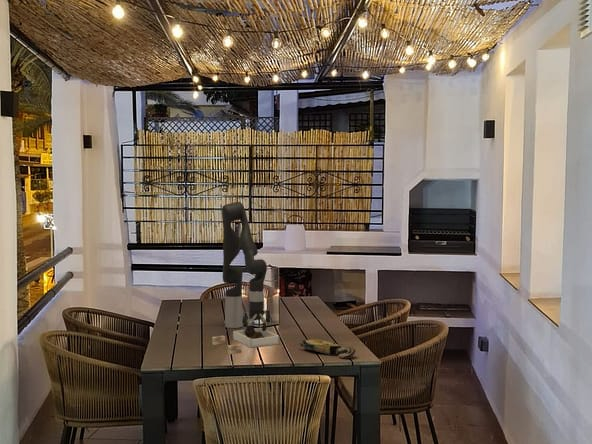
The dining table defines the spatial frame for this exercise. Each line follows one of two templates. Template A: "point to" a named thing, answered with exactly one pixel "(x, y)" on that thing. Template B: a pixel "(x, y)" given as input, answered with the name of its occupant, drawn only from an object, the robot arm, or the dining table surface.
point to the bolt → (254, 333)
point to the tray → (260, 342)
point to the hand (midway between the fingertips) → (256, 332)
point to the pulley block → (328, 348)
